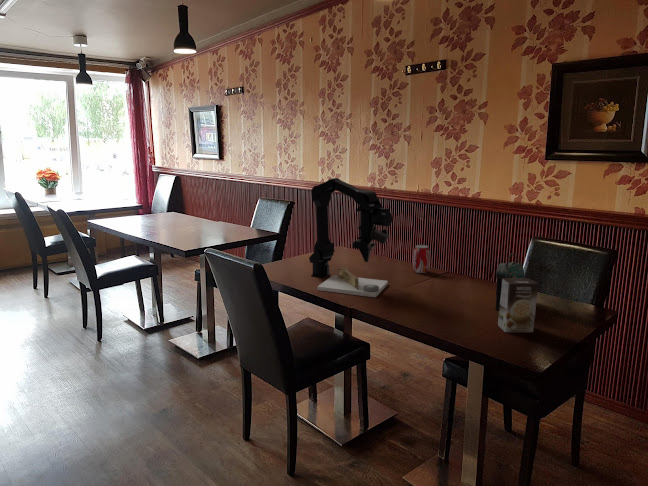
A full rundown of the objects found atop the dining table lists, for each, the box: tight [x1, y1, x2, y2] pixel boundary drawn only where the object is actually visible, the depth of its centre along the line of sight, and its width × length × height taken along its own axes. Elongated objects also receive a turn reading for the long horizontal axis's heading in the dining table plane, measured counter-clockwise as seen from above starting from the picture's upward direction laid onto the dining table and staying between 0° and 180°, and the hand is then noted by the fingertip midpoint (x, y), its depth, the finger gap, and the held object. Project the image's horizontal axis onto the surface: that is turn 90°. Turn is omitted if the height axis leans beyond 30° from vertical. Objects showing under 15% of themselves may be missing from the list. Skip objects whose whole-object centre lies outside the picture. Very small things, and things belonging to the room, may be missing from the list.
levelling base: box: [317, 274, 389, 298], centre depth 198 cm, size 24×18×3 cm
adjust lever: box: [337, 267, 360, 287], centre depth 200 cm, size 17×4×4 cm, turn 19°
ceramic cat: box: [495, 252, 526, 312], centre depth 175 cm, size 20×6×20 cm, turn 139°
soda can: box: [412, 244, 431, 274], centre depth 219 cm, size 7×7×12 cm
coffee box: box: [497, 277, 539, 333], centre depth 154 cm, size 9×6×16 cm
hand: (366, 261), depth 195 cm, fingers closed
